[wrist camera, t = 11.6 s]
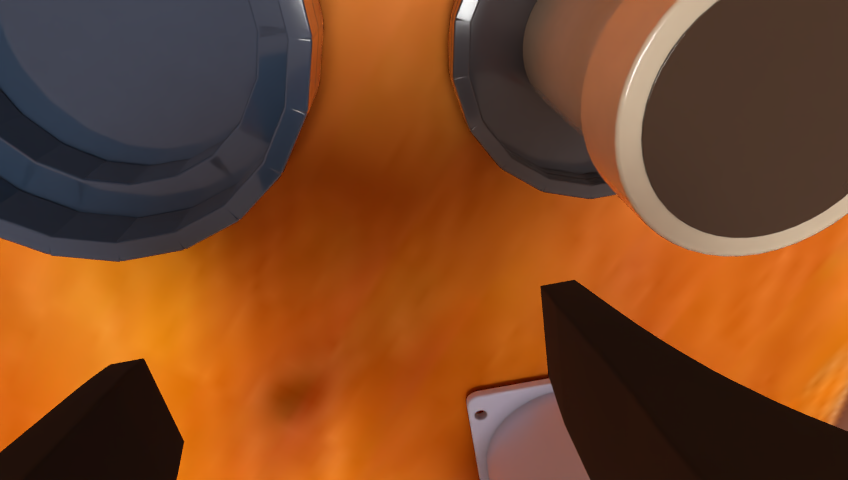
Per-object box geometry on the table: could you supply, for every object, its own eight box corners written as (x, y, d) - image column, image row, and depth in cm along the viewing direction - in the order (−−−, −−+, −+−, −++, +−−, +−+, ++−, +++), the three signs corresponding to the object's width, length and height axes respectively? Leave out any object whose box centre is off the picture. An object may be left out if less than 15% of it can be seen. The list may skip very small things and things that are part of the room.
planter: (359, 171, 20) (356, 219, 16) (26, 232, 20) (-51, 293, 16) (261, -260, 15) (224, -327, 11) (-189, -174, 15) (-369, -214, 11)
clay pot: (684, 114, 19) (904, 230, 11) (518, 144, 19) (619, 282, 11) (691, -76, 17) (980, -99, 9) (500, -40, 17) (613, -32, 9)
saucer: (732, 155, 21) (757, 169, 19) (466, 203, 21) (473, 221, 19) (756, -162, 16) (790, -172, 15) (422, -99, 16) (427, -104, 15)
